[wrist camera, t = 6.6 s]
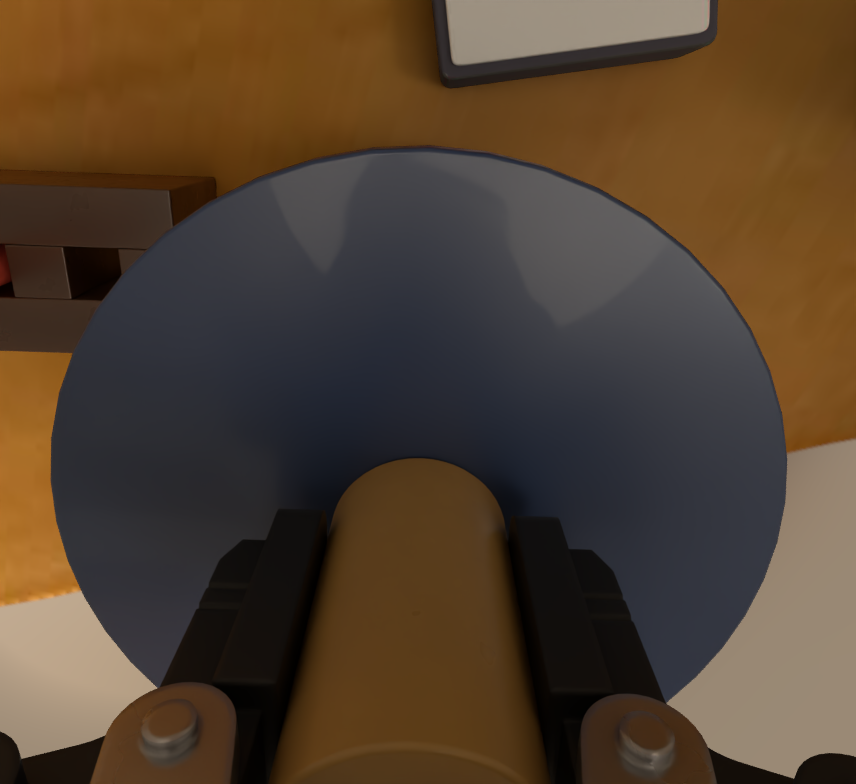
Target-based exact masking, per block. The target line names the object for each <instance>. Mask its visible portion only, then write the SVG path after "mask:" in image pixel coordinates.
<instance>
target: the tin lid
mask: <svg viewBox="0 0 856 784" xmlns="http://www.w3.org/2000/svg"><path fill="white" fill-rule="evenodd" d="M786 474H787V454H786V445H785V436H784V427H783V418H782V412H781V409H780V405H779V402H778V398H777V394H776V391H775V387H774V384H773V380H772V376H771V373H770V370H769V368H768V366H767V363H766V361H765V359H764V357H763V355H762V352H761V350H760V348H759V346H758V344H757V342H756V339H755V337H754V335H753V333H752V331H751V328H750V327H749V325H748V324H747V322H746V321H745V319H744V318H743V316H742V315H741V313H740V312H739V310H738V309H737V307H736V306H735V304H734V303H733V301H732V300H731V298H730V297H729V295H728V294H727V292H726V291H725V289H724V288H723V287H722V286H721V285H720V284H719V282H718V281H717V280H716V279H715V278H714V277H713V276H712V275H711V274H710V273H709V272H708V270H707V269H706V268H705V267H704V266H703V265H702V264H701V263H700V262H699V261H698V260H697V258H696V257H695V256H694V255H693V254H692V253H691V252H690V251H689V250H688V249H687V248H686V247H684V246H683V245H682V244H681V243H679V242H678V241H677V240H676V239H674V238H673V237H672V236H671V235H669V234H668V233H667V232H666V231H664V230H663V229H662V228H661V227H659V226H658V225H657V224H656V223H654V222H653V221H652V220H651V219H650V218H648V217H647V216H645V215H644V214H642V213H640V212H638V211H637V210H635V209H633V208H632V207H630V206H628V205H627V204H625V203H623V202H621V201H620V200H618V199H616V198H615V197H613V196H611V195H609V194H608V193H606V192H604V191H603V190H601V189H599V188H597V187H595V186H592V185H590V184H588V183H585V182H583V181H580V180H578V179H575V178H573V177H570V176H568V175H565V174H563V173H560V172H558V171H555V170H553V169H550V168H548V167H546V166H543V165H540V164H536V163H532V162H528V161H524V160H520V159H516V158H512V157H508V156H504V155H500V154H496V153H492V152H488V151H480V150H470V149H461V148H451V147H441V146H432V145H426V146H398V147H373V148H367V149H362V150H356V151H350V152H345V153H339V154H334V155H328V156H322V157H317V158H314V159H311V160H308V161H305V162H302V163H299V164H296V165H293V166H290V167H287V168H284V169H281V170H278V171H275V172H272V173H269V174H266V175H263V176H260V177H258V178H256V179H254V180H252V181H250V182H248V183H246V184H244V185H242V186H240V187H238V188H236V189H234V190H232V191H230V192H228V193H226V194H224V195H222V196H220V197H218V198H216V199H214V200H212V201H210V202H208V203H206V204H205V205H203V206H202V207H201V208H199V209H198V210H196V211H195V212H193V213H192V214H191V215H189V216H188V217H186V218H185V219H183V220H182V221H181V222H179V223H178V224H176V225H175V226H173V227H172V228H171V229H169V230H168V231H166V232H165V233H164V234H162V235H161V236H160V237H159V238H158V239H157V240H156V241H155V242H154V243H153V244H152V245H151V246H150V247H149V248H148V249H147V250H146V251H145V252H144V253H143V254H142V255H141V256H139V257H138V258H137V259H136V260H135V261H134V262H133V263H132V264H131V265H130V266H129V267H128V268H127V269H126V270H125V272H124V273H123V274H122V275H121V277H120V278H119V279H118V281H117V282H116V283H115V285H114V286H113V287H112V289H111V290H110V291H109V292H108V294H107V295H106V296H105V298H104V299H103V300H102V302H101V303H100V304H99V306H98V307H97V308H96V310H95V312H94V314H93V316H92V318H91V319H90V321H89V323H88V325H87V327H86V329H85V331H84V332H83V334H82V336H81V338H80V340H79V342H78V344H77V345H76V347H75V349H74V352H73V355H72V357H71V360H70V363H69V366H68V369H67V372H66V375H65V378H64V381H63V383H62V386H61V389H60V392H59V397H58V403H57V409H56V414H55V420H54V426H53V431H52V437H51V486H52V493H53V500H54V508H55V515H56V522H57V525H58V529H59V532H60V535H61V539H62V542H63V546H64V549H65V552H66V556H67V559H68V562H69V564H70V566H71V569H72V571H73V573H74V575H75V577H76V580H77V582H78V584H79V586H80V588H81V591H82V593H83V595H84V597H85V599H86V600H87V602H88V604H89V605H90V607H91V608H92V610H93V612H94V613H95V615H96V617H97V618H98V620H99V621H100V623H101V624H102V626H103V628H104V629H105V631H106V632H107V633H108V635H109V636H110V637H111V638H112V640H113V641H114V642H115V643H116V644H117V646H118V647H119V648H120V649H121V651H122V652H123V653H124V654H125V656H126V657H127V658H128V659H129V660H130V662H131V663H133V664H134V666H135V667H136V668H138V669H139V670H140V671H141V672H142V673H143V674H144V675H145V676H146V677H147V678H148V679H149V680H150V681H151V682H152V683H153V684H154V685H155V686H156V687H157V688H159V687H160V685H161V683H162V681H163V679H164V677H165V675H166V672H167V670H168V668H169V666H170V664H171V662H172V660H173V658H174V655H175V653H176V651H177V649H178V647H179V645H180V643H181V641H182V638H183V636H184V634H185V632H186V630H187V628H188V626H189V624H190V622H191V619H192V617H193V615H194V613H195V611H196V609H198V608H199V602H200V600H201V598H202V596H203V594H204V592H205V590H206V588H208V585H209V584H208V583H209V581H210V579H211V577H212V575H213V573H214V571H215V569H216V566H217V564H218V562H219V560H220V559H221V558H222V557H223V556H224V555H225V554H227V553H228V552H229V551H230V550H231V549H232V548H233V547H235V546H236V545H237V544H238V543H239V542H240V541H241V540H243V539H249V540H266V538H267V536H268V533H269V531H270V528H271V525H272V523H273V520H274V518H275V515H276V513H277V511H278V509H308V510H325V512H326V517H327V543H326V548H325V552H324V556H323V560H322V564H321V568H320V572H319V576H318V580H317V585H316V589H315V593H314V597H313V601H312V605H311V609H310V613H309V617H308V622H307V626H306V630H305V634H304V638H303V642H302V646H301V650H300V654H299V659H298V663H297V667H296V671H295V675H294V679H293V683H292V687H291V691H290V696H289V700H288V704H287V708H286V712H285V716H284V720H283V724H282V728H281V732H280V737H279V741H278V745H277V749H276V753H275V757H274V761H273V765H272V769H271V774H270V778H269V782H268V784H551V780H550V775H549V769H548V763H547V758H546V752H545V747H544V741H543V735H542V730H541V724H540V719H539V713H538V707H537V702H536V696H535V691H534V685H533V679H532V674H531V668H530V663H529V657H528V652H527V646H526V640H525V635H524V629H523V624H522V618H521V612H520V607H519V601H518V596H517V590H516V584H515V579H514V573H513V568H512V562H511V557H510V551H509V545H508V537H509V527H510V521H511V517H512V516H539V517H558V518H559V520H560V523H561V526H562V529H563V532H564V535H565V538H566V541H567V545H568V548H569V549H588V550H593V551H594V552H595V553H596V554H597V555H598V556H599V557H600V558H601V559H602V560H603V561H604V562H605V563H606V564H607V565H608V566H609V567H610V568H611V569H612V570H613V571H614V574H615V576H616V579H617V581H618V584H619V586H620V589H621V591H622V594H623V600H625V601H626V604H627V606H628V609H629V611H630V614H631V621H633V622H634V624H635V627H636V629H637V632H638V634H639V637H640V639H641V642H642V644H643V647H644V649H645V652H646V654H647V657H648V659H649V662H650V664H651V667H652V669H653V672H654V674H655V677H656V679H657V682H658V684H659V687H660V689H661V692H662V694H663V697H664V699H665V702H666V703H667V702H668V701H669V700H670V699H671V698H672V697H673V696H675V695H676V694H677V693H678V692H679V691H680V690H682V689H683V688H684V687H685V686H686V685H687V684H689V683H690V682H691V681H692V680H693V679H694V678H695V677H696V676H697V675H698V674H699V673H700V672H701V671H702V670H703V669H704V668H705V667H706V665H707V664H708V663H709V662H710V661H711V660H712V659H713V658H714V657H715V656H716V654H717V653H718V652H719V651H720V650H721V649H722V648H723V646H724V645H725V644H726V642H727V641H728V639H729V638H730V636H731V635H732V634H733V632H734V631H735V629H736V628H737V627H738V625H739V624H740V622H741V621H742V619H743V618H744V617H745V615H746V613H747V611H748V609H749V607H750V605H751V603H752V602H753V599H754V598H755V596H756V594H757V592H758V590H759V588H760V586H761V584H762V582H763V580H764V578H765V575H766V572H767V569H768V567H769V564H770V561H771V558H772V555H773V553H774V550H775V547H776V544H777V541H778V536H779V531H780V526H781V520H782V516H783V510H784V505H785V495H786Z"/></svg>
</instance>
